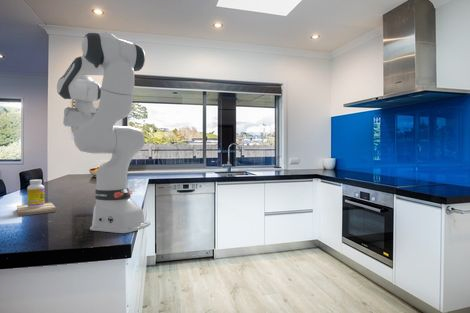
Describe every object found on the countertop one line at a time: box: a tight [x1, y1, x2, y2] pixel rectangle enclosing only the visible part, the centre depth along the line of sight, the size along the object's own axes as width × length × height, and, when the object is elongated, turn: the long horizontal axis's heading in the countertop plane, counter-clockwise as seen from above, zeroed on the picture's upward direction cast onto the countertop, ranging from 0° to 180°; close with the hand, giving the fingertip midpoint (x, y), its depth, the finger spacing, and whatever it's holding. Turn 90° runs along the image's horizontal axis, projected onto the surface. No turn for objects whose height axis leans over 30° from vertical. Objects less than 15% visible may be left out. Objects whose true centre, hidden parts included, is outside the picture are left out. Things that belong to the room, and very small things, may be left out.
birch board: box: [16, 202, 57, 217], centre depth 132 cm, size 16×14×2 cm
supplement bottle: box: [26, 179, 46, 208], centre depth 132 cm, size 7×7×13 cm
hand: (85, 136), depth 141 cm, fingers open, 8 cm apart
